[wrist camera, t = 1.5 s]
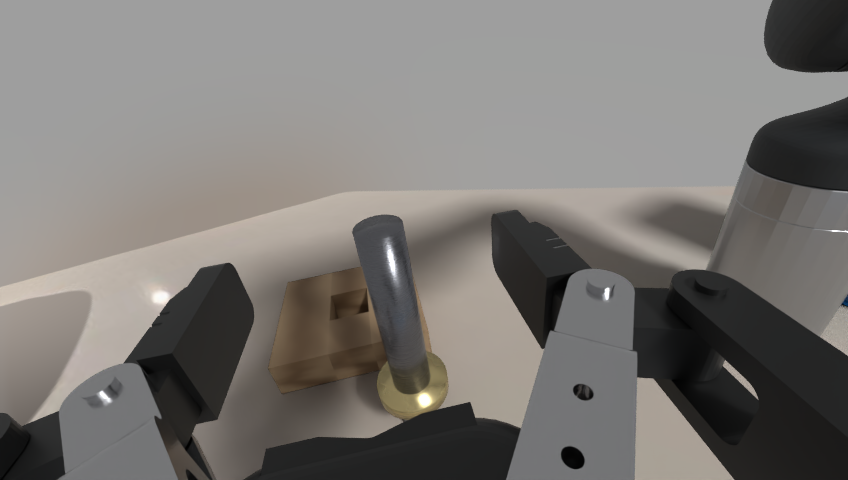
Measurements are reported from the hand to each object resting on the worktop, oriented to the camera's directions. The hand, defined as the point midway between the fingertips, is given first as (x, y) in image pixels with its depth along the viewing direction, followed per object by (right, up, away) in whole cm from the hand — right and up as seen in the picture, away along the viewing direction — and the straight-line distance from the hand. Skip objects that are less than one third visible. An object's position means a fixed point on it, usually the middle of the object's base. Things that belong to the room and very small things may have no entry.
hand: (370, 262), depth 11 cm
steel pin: (+1, -15, +22) cm, 26 cm away
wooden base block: (-6, -10, +32) cm, 34 cm away
